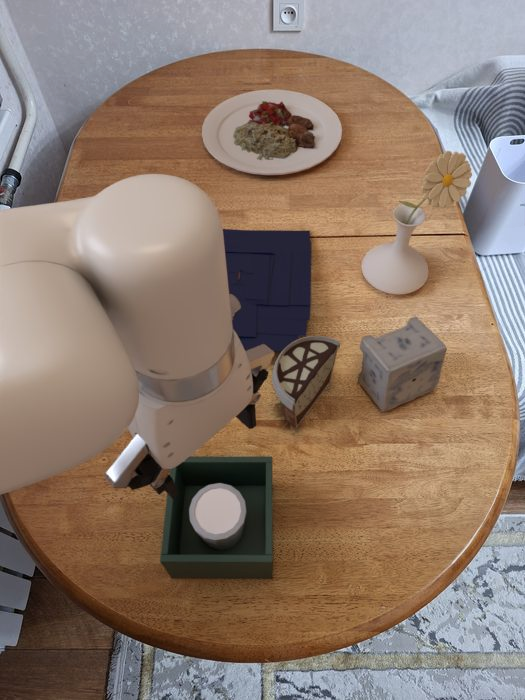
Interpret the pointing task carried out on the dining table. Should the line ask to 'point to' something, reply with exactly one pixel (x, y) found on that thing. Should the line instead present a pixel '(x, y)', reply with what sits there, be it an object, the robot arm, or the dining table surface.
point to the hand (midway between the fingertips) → (205, 450)
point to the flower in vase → (398, 257)
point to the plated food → (271, 132)
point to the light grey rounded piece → (218, 515)
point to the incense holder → (401, 364)
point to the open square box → (257, 539)
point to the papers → (269, 285)
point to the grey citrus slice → (303, 375)
